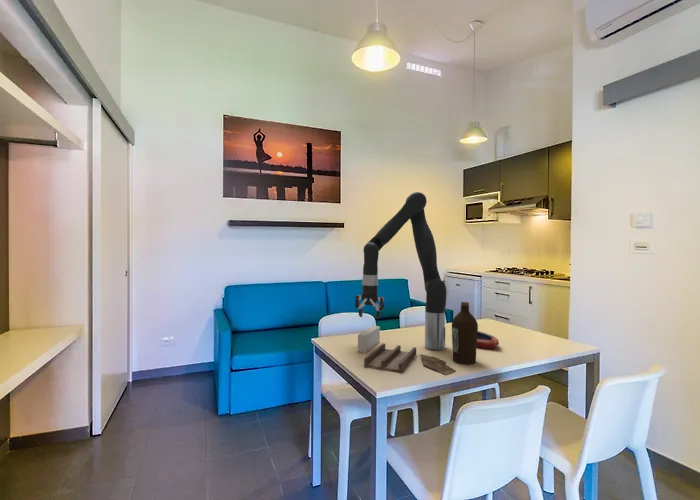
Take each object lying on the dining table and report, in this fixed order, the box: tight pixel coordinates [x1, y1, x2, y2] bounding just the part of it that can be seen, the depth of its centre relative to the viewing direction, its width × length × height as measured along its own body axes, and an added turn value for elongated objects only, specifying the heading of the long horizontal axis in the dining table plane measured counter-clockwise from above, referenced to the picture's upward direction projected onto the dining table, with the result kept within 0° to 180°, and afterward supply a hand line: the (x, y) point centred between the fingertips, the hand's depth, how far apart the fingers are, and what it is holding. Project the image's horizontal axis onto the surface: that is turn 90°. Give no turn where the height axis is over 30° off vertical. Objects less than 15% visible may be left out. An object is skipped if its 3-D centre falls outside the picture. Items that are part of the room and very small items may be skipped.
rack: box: [363, 343, 417, 374], centre depth 150 cm, size 16×24×4 cm, turn 157°
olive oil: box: [451, 301, 479, 365], centre depth 150 cm, size 11×11×25 cm
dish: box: [477, 330, 500, 349], centre depth 180 cm, size 16×31×5 cm, turn 17°
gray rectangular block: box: [357, 325, 381, 354], centre depth 171 cm, size 4×20×8 cm, turn 157°
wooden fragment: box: [419, 353, 457, 376], centre depth 147 cm, size 26×11×1 cm, turn 8°
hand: (369, 317), depth 171 cm, fingers open, 8 cm apart
